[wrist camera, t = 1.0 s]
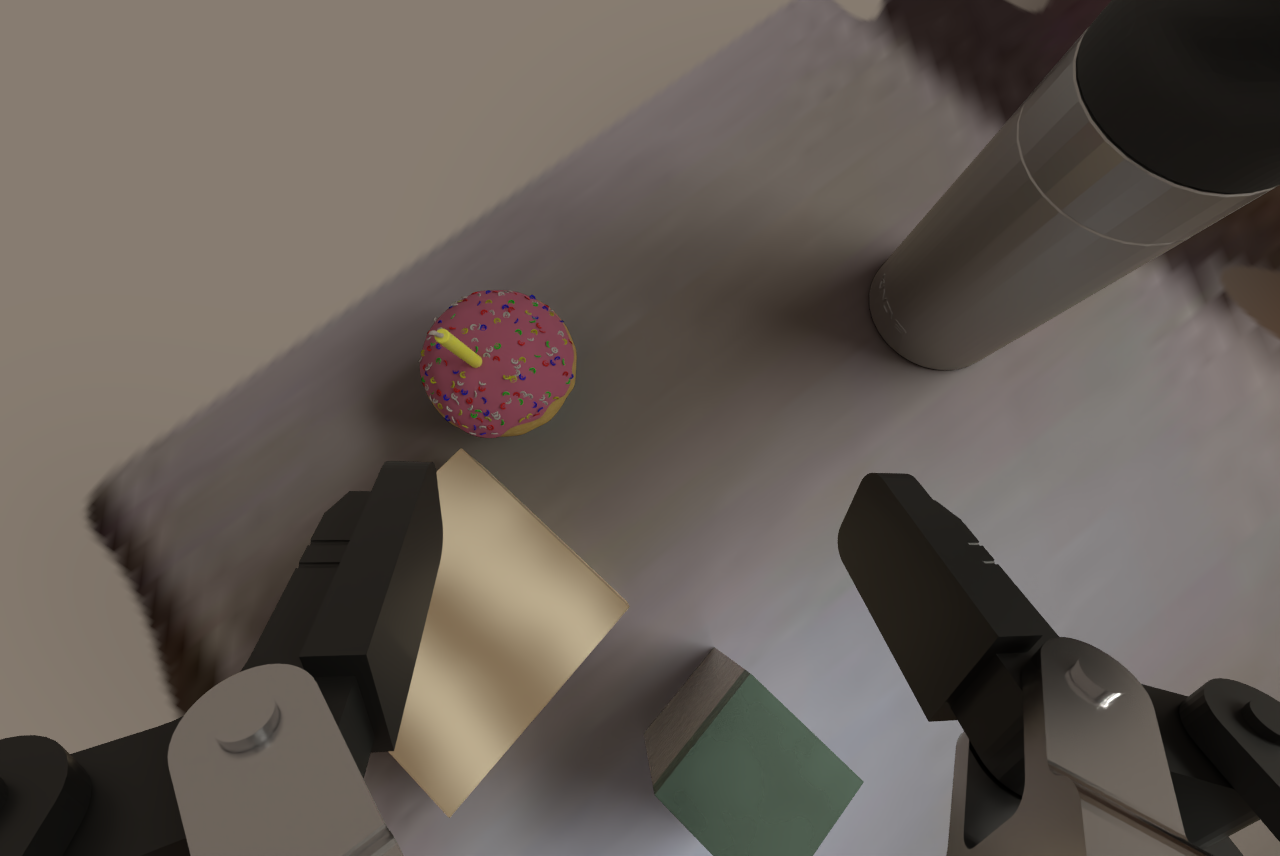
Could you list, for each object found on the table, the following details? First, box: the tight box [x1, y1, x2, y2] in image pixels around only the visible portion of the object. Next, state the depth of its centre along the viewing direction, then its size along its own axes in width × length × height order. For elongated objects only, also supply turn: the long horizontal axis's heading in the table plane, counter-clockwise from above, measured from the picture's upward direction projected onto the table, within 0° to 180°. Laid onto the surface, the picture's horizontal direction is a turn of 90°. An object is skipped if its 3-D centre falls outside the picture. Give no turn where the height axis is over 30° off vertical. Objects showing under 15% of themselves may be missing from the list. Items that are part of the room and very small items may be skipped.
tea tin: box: [644, 647, 863, 856], centre depth 26 cm, size 6×6×8 cm
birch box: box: [388, 448, 629, 818], centre depth 29 cm, size 12×12×5 cm
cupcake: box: [418, 290, 577, 438], centre depth 28 cm, size 9×8×12 cm
